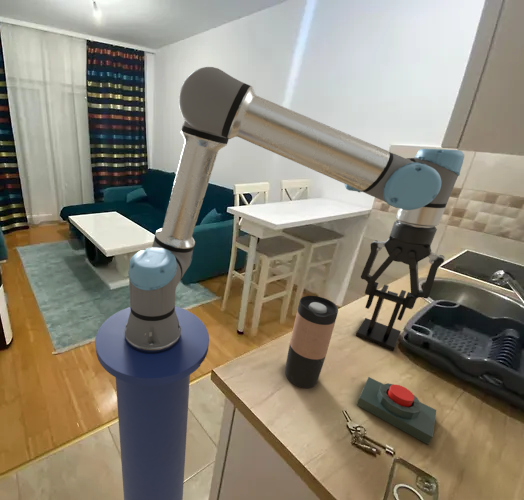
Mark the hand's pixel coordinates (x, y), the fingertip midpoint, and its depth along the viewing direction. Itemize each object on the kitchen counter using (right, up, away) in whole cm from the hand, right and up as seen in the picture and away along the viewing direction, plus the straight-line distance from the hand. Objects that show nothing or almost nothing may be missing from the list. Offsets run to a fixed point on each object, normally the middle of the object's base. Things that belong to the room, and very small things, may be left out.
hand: (383, 311), depth 72 cm
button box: (-6, -18, -12) cm, 23 cm away
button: (-6, -15, -13) cm, 21 cm away
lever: (+3, +2, +3) cm, 5 cm away
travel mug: (-22, -15, -3) cm, 27 cm away
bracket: (+7, -9, +12) cm, 16 cm away
